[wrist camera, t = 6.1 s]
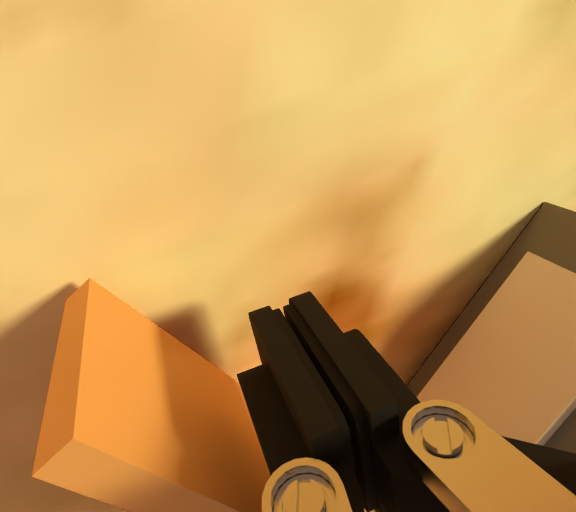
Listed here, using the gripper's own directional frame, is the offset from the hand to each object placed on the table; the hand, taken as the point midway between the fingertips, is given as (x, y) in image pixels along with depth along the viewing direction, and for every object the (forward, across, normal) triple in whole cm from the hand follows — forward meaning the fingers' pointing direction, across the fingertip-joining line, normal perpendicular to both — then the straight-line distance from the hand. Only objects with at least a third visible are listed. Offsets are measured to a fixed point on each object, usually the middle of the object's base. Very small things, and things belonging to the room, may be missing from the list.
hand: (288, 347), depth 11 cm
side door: (+2, +2, +3) cm, 4 cm away
